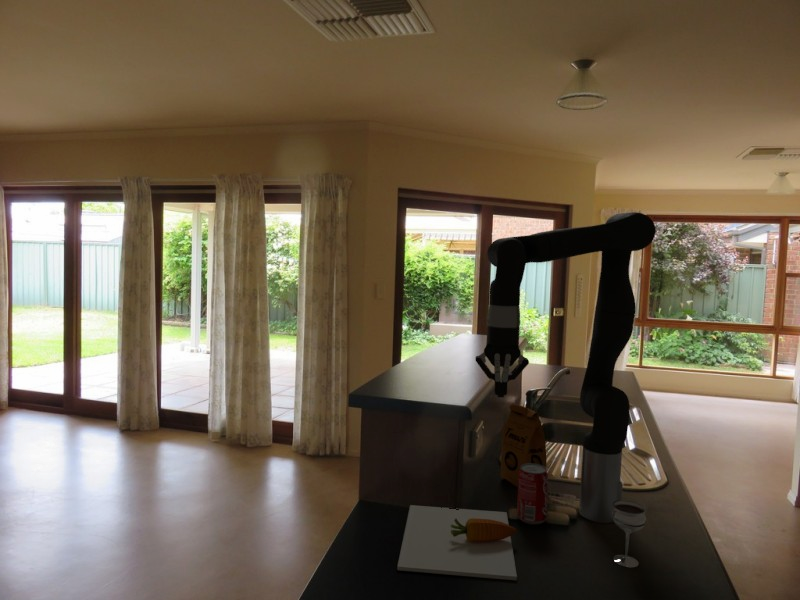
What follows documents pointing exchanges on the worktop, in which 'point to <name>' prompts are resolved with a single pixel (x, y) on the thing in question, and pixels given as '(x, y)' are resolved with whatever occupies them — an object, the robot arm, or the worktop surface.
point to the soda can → (532, 493)
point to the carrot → (483, 530)
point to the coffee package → (521, 442)
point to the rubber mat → (453, 545)
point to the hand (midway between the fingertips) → (500, 396)
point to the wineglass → (628, 525)
